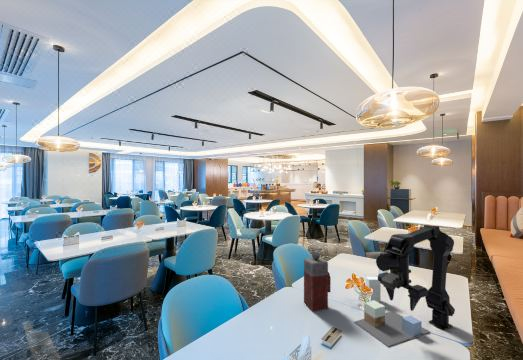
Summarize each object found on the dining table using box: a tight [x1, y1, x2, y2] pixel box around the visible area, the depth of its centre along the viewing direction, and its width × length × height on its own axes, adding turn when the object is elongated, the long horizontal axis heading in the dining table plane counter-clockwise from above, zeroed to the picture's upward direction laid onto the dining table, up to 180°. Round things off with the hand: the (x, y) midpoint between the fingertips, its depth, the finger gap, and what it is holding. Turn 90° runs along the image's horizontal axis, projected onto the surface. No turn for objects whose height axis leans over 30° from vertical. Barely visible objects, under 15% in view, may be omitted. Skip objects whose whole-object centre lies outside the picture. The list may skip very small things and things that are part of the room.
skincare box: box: [365, 276, 381, 303], centre depth 133 cm, size 6×4×12 cm
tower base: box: [363, 311, 385, 327], centre depth 113 cm, size 6×6×4 cm
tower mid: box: [363, 300, 386, 318], centre depth 112 cm, size 6×6×4 cm
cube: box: [402, 314, 423, 336], centre depth 106 cm, size 5×5×5 cm
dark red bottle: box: [303, 249, 332, 312], centre depth 128 cm, size 9×11×28 cm
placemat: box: [353, 310, 431, 348], centre depth 109 cm, size 24×18×1 cm
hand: (401, 305), depth 103 cm, fingers open, 9 cm apart
